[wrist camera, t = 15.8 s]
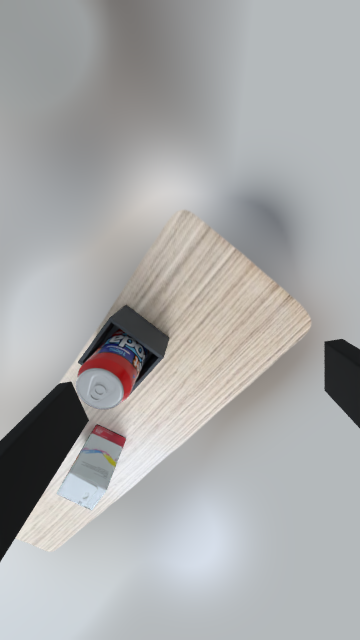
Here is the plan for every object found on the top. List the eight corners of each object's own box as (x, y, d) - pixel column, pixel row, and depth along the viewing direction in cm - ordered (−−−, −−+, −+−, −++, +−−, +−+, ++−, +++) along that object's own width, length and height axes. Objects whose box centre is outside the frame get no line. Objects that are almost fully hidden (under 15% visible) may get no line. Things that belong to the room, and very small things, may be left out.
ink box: (96, 423, 50) (68, 472, 39) (127, 438, 51) (108, 490, 40) (84, 444, 53) (54, 496, 42) (113, 458, 54) (92, 513, 43)
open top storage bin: (126, 304, 40) (110, 317, 32) (169, 337, 41) (163, 357, 34) (98, 342, 43) (77, 362, 35) (139, 372, 44) (128, 396, 37)
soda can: (106, 345, 42) (60, 393, 28) (125, 316, 39) (86, 353, 25) (138, 366, 43) (109, 423, 29) (158, 339, 40) (139, 387, 26)
